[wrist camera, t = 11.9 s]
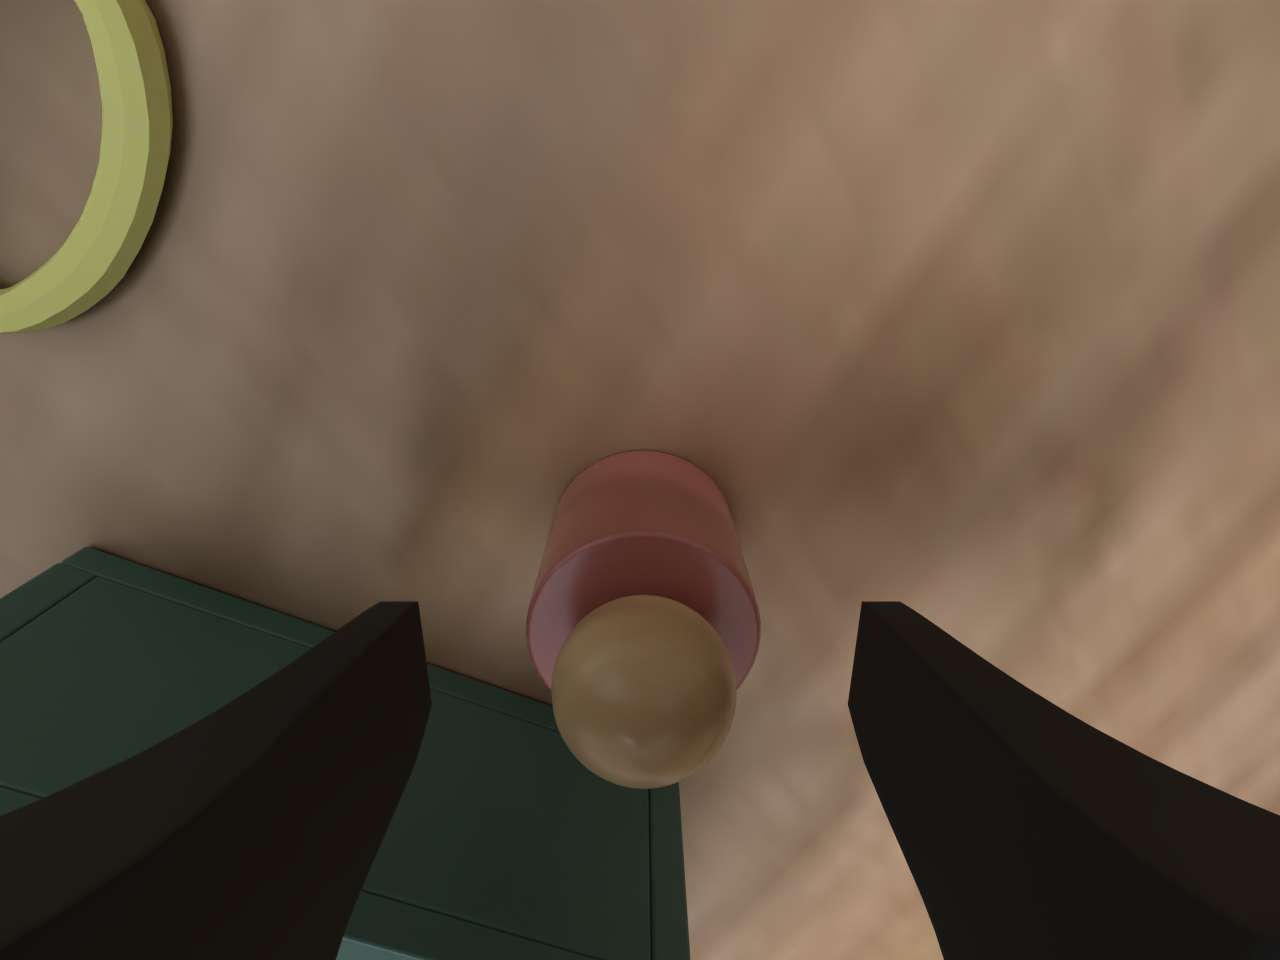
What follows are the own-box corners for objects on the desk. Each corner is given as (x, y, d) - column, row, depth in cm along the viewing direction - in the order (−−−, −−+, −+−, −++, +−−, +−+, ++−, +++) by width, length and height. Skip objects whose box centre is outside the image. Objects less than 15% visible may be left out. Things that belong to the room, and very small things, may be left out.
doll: (625, 640, 16) (616, 904, 10) (516, 517, 15) (431, 731, 9) (766, 550, 16) (850, 780, 9) (662, 412, 14) (679, 572, 8)
